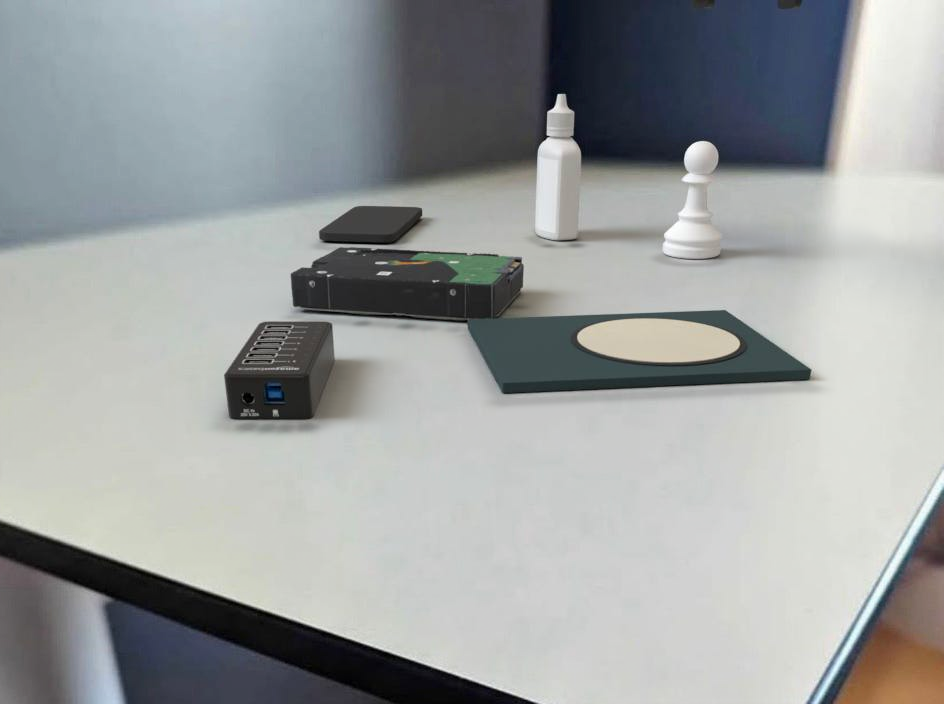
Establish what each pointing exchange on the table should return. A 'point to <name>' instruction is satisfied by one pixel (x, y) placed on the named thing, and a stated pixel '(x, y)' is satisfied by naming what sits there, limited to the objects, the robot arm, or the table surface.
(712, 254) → the chess pawn
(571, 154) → the eye dropper bottle
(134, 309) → the table surface
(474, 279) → the disk drive
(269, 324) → the multiport hub
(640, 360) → the drawing mat
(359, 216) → the phone
